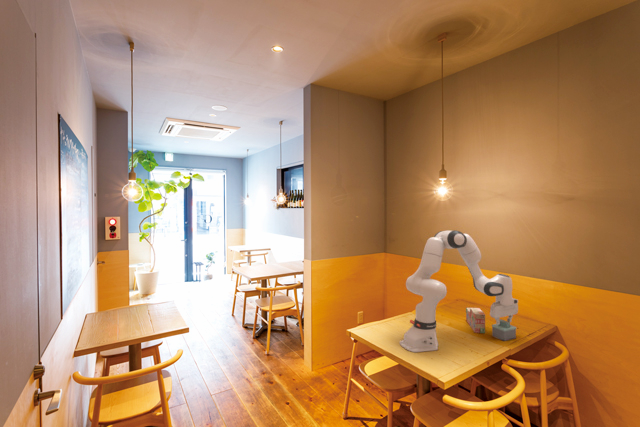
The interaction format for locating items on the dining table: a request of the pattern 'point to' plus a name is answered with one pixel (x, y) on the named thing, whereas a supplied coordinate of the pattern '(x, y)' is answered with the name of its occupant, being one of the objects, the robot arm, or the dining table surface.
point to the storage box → (504, 334)
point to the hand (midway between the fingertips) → (503, 322)
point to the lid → (504, 326)
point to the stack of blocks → (476, 319)
